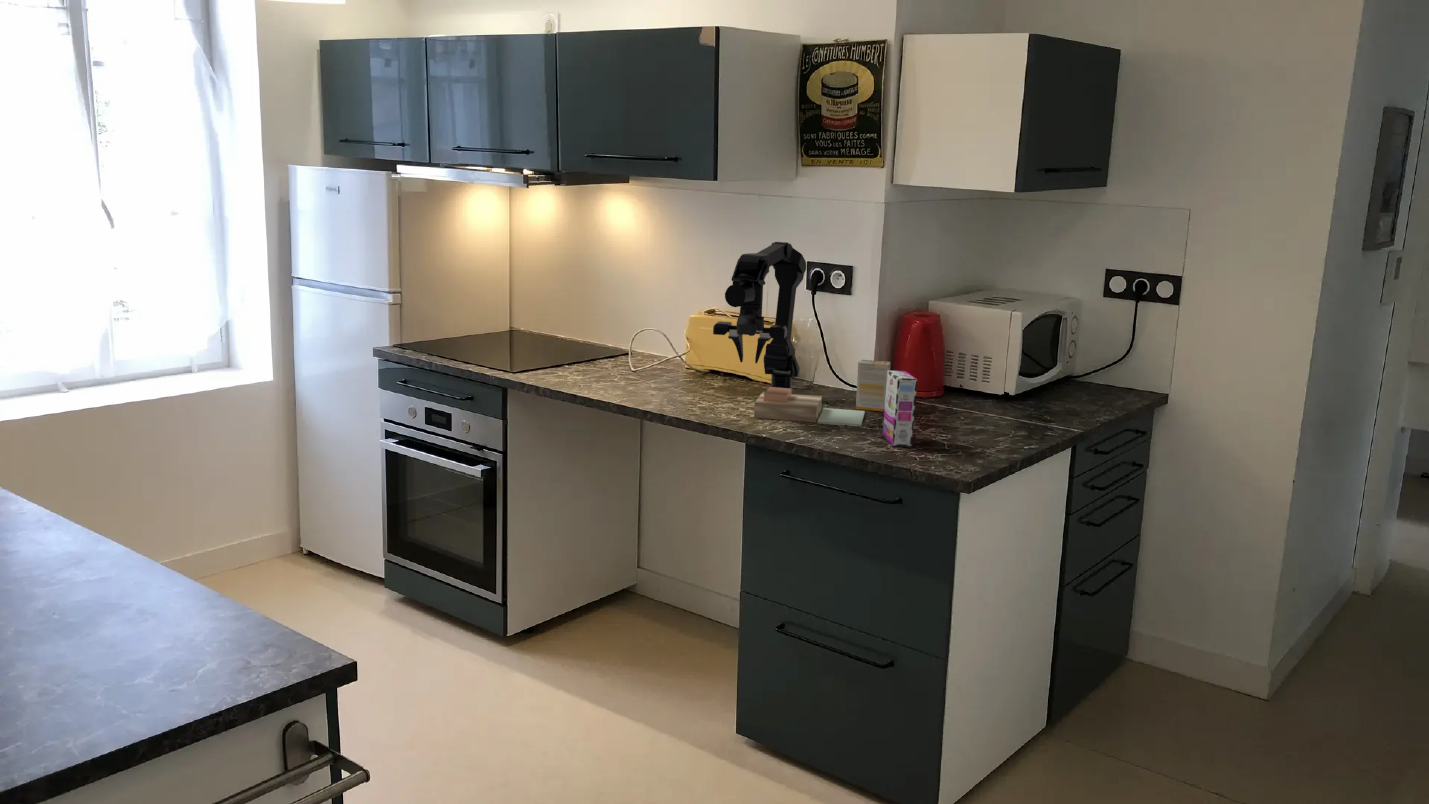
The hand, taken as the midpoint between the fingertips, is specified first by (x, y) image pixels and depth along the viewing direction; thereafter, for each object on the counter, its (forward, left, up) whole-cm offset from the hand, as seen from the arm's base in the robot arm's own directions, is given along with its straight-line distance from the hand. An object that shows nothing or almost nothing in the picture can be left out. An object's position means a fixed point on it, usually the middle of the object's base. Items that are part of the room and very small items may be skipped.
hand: (748, 362), depth 291 cm
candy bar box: (+20, +40, -13) cm, 47 cm away
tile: (0, +8, -9) cm, 12 cm away
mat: (0, +25, -13) cm, 28 cm away
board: (0, +11, -13) cm, 17 cm away
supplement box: (-14, +32, -13) cm, 37 cm away
